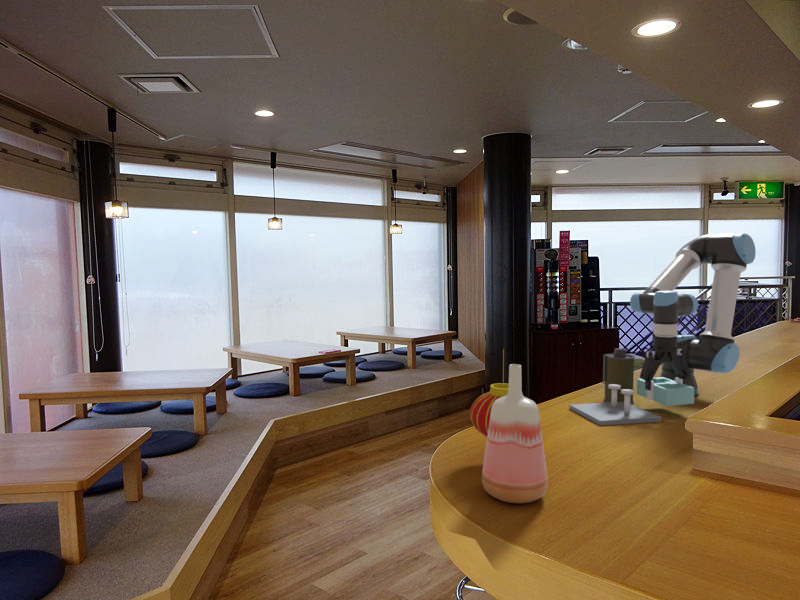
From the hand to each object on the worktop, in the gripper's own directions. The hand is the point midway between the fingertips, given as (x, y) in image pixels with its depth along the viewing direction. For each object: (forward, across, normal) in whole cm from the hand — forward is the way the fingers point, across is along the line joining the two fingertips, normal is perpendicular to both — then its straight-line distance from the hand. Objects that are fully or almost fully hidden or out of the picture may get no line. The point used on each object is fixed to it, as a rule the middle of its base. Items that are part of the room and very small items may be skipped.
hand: (664, 397), depth 184 cm
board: (+4, +20, 0) cm, 20 cm away
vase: (+2, +78, +53) cm, 94 cm away
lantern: (+2, +73, +33) cm, 80 cm away
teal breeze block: (0, 0, 0) cm, 0 cm away
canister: (+5, +8, -16) cm, 18 cm away
